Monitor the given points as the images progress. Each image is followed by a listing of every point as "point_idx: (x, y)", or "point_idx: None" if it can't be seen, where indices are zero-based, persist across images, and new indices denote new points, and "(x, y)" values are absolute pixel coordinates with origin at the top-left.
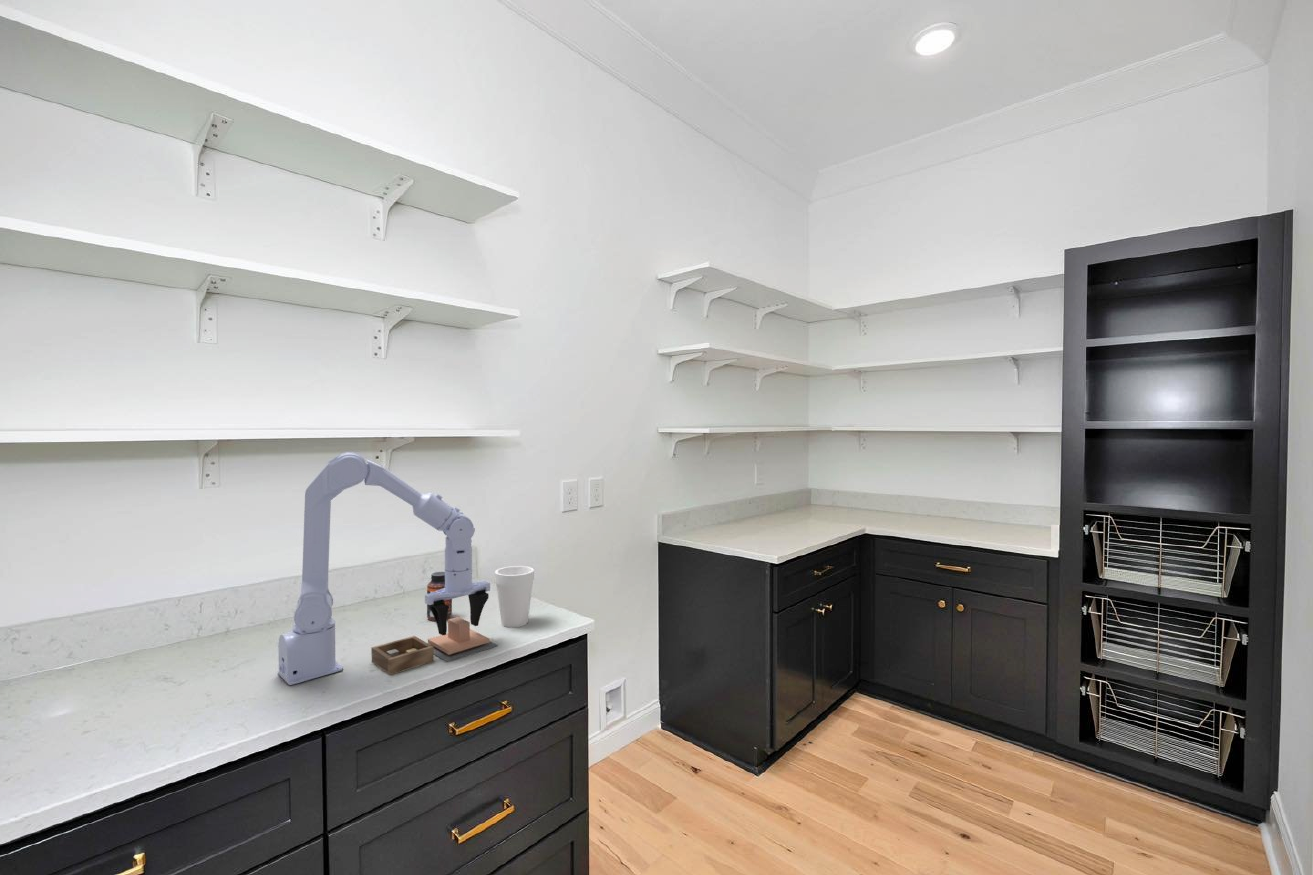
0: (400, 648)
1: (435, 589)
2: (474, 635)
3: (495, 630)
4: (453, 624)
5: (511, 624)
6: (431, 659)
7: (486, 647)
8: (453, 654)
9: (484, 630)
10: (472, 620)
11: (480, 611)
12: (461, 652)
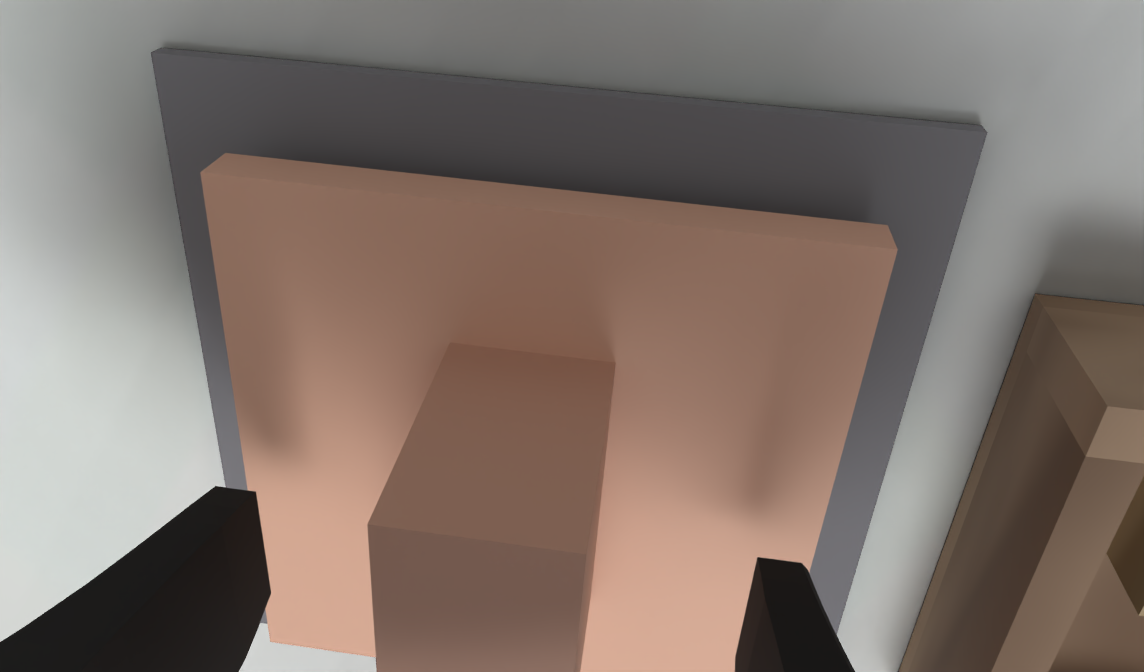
0: None
1: None
2: (320, 419)
3: (5, 465)
4: (576, 666)
5: None
6: (1081, 311)
7: (320, 93)
8: None
9: (108, 546)
10: (238, 611)
11: (44, 636)
12: None
